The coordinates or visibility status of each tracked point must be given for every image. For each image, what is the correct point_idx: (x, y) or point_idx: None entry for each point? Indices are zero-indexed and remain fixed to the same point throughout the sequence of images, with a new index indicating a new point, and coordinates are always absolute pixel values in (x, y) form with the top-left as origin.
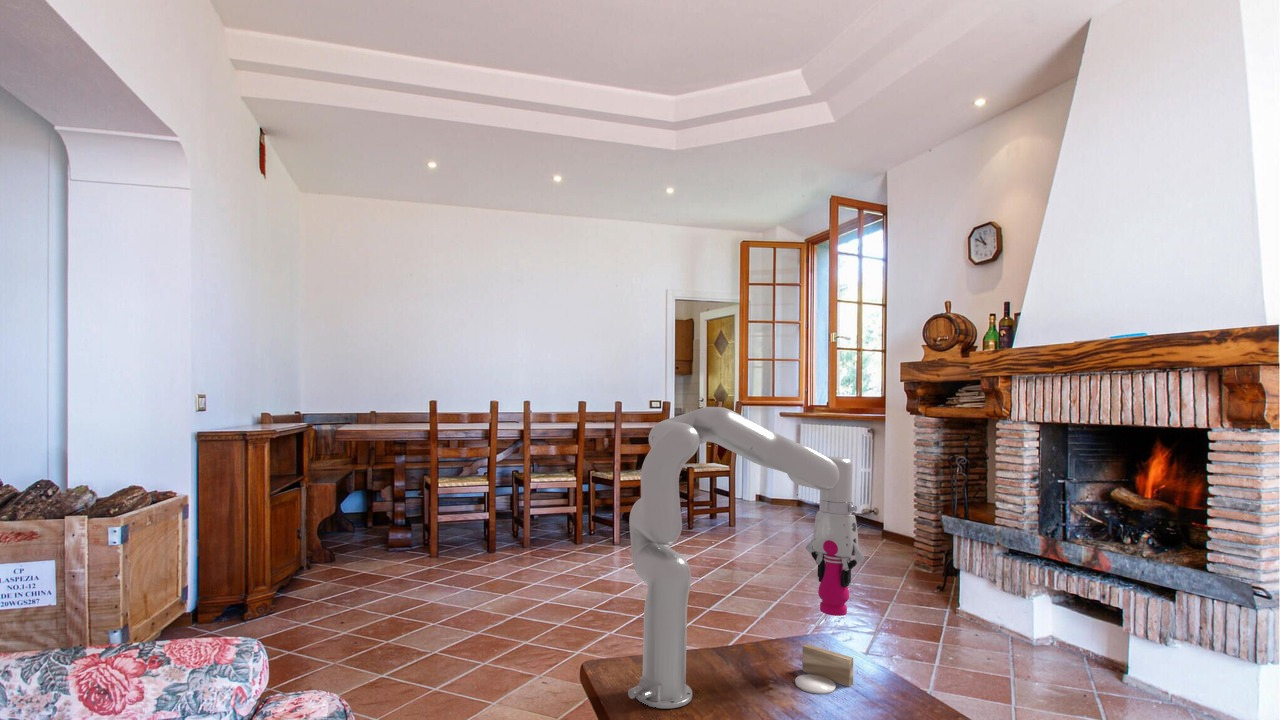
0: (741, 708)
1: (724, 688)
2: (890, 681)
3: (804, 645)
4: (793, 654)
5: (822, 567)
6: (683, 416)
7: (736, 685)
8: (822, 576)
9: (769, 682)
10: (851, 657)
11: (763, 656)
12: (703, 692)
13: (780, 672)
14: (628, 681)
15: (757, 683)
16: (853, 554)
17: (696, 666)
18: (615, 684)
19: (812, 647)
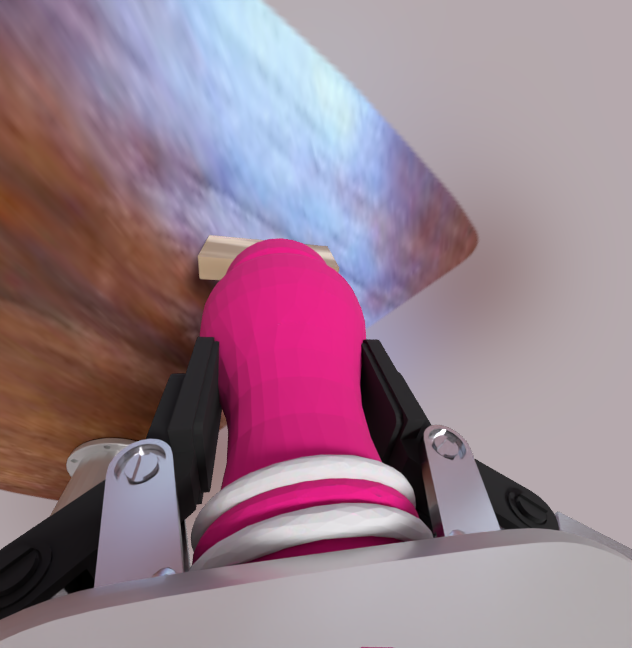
0: (221, 426)
1: (157, 402)
2: (396, 169)
3: (201, 272)
4: (119, 154)
5: (209, 476)
6: None
7: (162, 384)
8: (219, 415)
9: (194, 342)
10: (334, 269)
11: (77, 231)
12: (146, 427)
13: (179, 291)
14: (39, 466)
15: (182, 358)
16: (566, 548)
17: (41, 373)
18: (39, 479)
19: (226, 271)
